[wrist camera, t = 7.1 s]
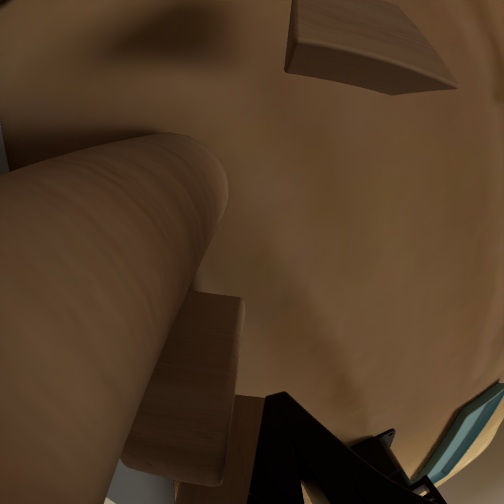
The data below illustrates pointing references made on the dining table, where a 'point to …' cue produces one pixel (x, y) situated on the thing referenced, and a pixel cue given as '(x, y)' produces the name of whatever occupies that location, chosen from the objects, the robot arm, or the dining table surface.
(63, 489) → the wooden block set
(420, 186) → the dining table surface
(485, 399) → the shallow long dish
